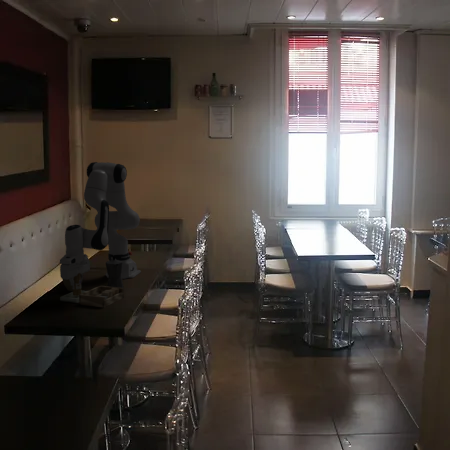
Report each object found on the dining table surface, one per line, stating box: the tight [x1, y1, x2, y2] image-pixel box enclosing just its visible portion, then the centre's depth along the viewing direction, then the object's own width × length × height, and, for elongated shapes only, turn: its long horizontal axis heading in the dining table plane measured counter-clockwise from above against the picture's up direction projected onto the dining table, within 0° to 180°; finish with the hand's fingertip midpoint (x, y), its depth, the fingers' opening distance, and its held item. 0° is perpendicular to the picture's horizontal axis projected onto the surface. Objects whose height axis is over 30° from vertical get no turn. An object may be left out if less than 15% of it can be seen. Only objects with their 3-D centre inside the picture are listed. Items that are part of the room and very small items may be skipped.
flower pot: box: [62, 279, 73, 292], centre depth 299 cm, size 10×10×7 cm
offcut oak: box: [110, 288, 119, 296], centre depth 282 cm, size 5×4×5 cm
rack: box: [78, 285, 125, 309], centre depth 278 cm, size 18×14×5 cm
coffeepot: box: [105, 257, 125, 289], centre depth 300 cm, size 15×9×18 cm, turn 25°
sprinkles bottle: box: [72, 269, 82, 296], centre depth 283 cm, size 5×5×14 cm
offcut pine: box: [102, 290, 113, 298], centre depth 276 cm, size 4×4×6 cm
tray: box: [59, 289, 88, 304], centre depth 284 cm, size 14×10×2 cm
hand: (76, 283), depth 283 cm, fingers closed on sprinkles bottle, 4 cm apart
